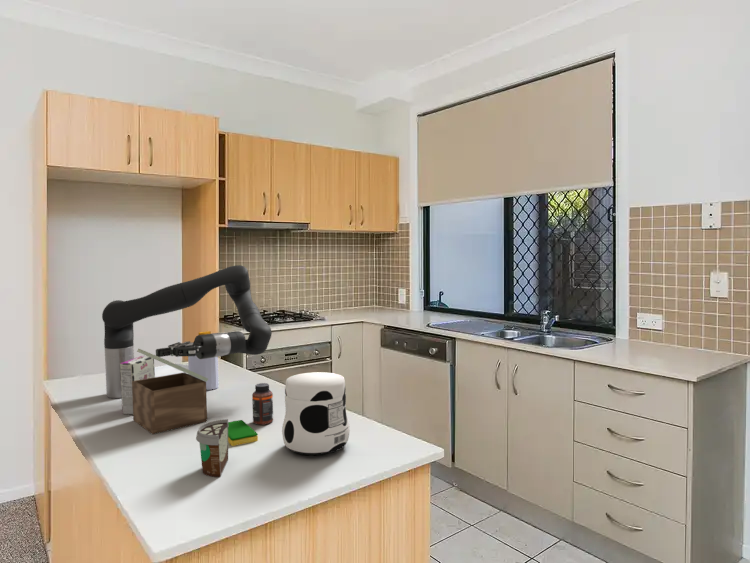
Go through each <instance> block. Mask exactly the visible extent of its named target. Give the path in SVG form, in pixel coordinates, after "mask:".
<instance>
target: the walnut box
mask: <svg viewBox="0 0 750 563" xmlns="http://www.w3.org/2000/svg"><path fill="white" fill-rule="evenodd" d="M132 396H133V415H132V416H133V420H132V421H134V422H135V423H136V424H137V425H139V426H140V427H141V428H143V429H145V430H146V431H147V432H148V433H150V434H151V433H152V434H151V435H155V433H156V434H159V432H160V433H164V432H168V431H167V430H169V431H172V430H171V429H173V430H176V429H175V428H177V429H180V427H181V428H185V426H186V427H189V425H190V426H194V425H198V424H201V423H207V422H208V405H207V401H208V399H207V390H206V382H205V381H203V380H201V379H198V378H196V377H194V376H191V375H189V374H187V373H185V372H184V373H178V374H172V375H166V376H160V377H154V378H148V379H143V380H137V381H132ZM206 421H207V422H206ZM193 424H194V425H193ZM163 431H164V432H163Z"/></svg>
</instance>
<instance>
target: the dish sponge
mask: <svg viewBox="0 0 750 563" xmlns="http://www.w3.org/2000/svg"><path fill="white" fill-rule="evenodd" d="M228 425H229V427H228V444H229V445H230V446H232V447H235V446H240V445H245V444H249V443H253V442H254V443H255V442H257V441H259V436H258V435H259V434H258V432H256V431H255V430H254V429H253V428H252V427H251V426H249V424H247V423H246V422H245V421H244V420H243V419H238V420H233V421H228Z"/></svg>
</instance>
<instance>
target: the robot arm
mask: <svg viewBox="0 0 750 563" xmlns="http://www.w3.org/2000/svg"><path fill="white" fill-rule="evenodd" d="M250 280H251V279H250V276H249V271H248V268H247V267H245V266H244V265H239V264H238V265H230V266H227V267H225V268H223V269H220V270H217V271H214V272H211V273H209V274H206V275H204V276H201V277H197V278H194V279H191V280H188V281H183V282H180V283H176V284H172V285H168V286H165V287H163V288H161V289H158V290H156V291H153V292H151V293H149V294H147V295H144V296H142V297H139V298H138V297H137V298H134V299H133V298H132V299H129V300H120V299H119V300H112V301H111V302H109V303H108V304H107V305H106V306H105V307H104V308H103V311H102V313H101V318H102V321H103V324H104V339H103V340H104V341H103V342H104V343H103V345H104V361H105V362H104V363H105V364H104V366H105V384H106V385H105V387H106V389H105V390H106V397H107V398H109V399H122V394H121V377H120V363H123V362H126V361H128V360H131V359H134V358H135V349H134V347H135V346H134V345H135V344H134V323H136V322H139V321H142V320H144V319H147V318H150V317H155V316H159V315H160V316H161V315H164V314H168V313H173V312H177V311H180V310H183V309H187V308H190V307H192V306H194V305H197V303H199V301H201V300H202V298H204V297H205V296H207V294H208V293H210V292H211V291H212V290H214V289H216V288H219V287H222V286H224V288H225V291H226V292H227V294H228V296H229V297H230V298H231V299H232V301H233V303H234V304H235V306H236V309H237V313H238V316H239V320H240V322H241V325H242V327H243V329H244V330H245V331H246V332H247V333H249V334H248V337H247V338H246V336H245V334H244V333H243V332H242V331H239V330H238V331H237V330H236V331H235V330H234V331H229V332H228V331H227V332H213V333H212V332H211V334H204V335H199V334H198V335H196V336H195V338H194V341H193V342H191V341H190V340H189V341H184V342H180V341H177V342H176V343H172V344H169V345H167V347H162V348H156V349H155V355H156V356H158V357H160V358H163V357H168V356H170V357H177V358H179V357H188V356H197V358H199V359H206V358H213V357H218V358H219V357H223V356H227V355H233V354H244V355H245V354H246V355H254V356H257V355H261V354H263V353H265V352H266V350H267V349H268V346H269V343H270V341H271V338H272V328H271V326H270V324H268V323H267V322H266V321H265V320H264V319H263V316H262V314H261V313H260V312H261V311H260V309H259V308H258V306H257V305H256V303H255V302H254V301H253V298H252V292H251V281H250Z"/></svg>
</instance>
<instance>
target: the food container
mask: <svg viewBox="0 0 750 563" xmlns="http://www.w3.org/2000/svg"><path fill="white" fill-rule="evenodd" d="M228 422H229V419H228V418H226V419H218V420H217V419H216V420H213V421H209V422H208V421H207V422H205V423H204V424H201V425H200V426H199V427H198V430H197V432H196V437H195V440H196V442H198V443H199V452H200V460H201V468H202V470H201V471H202V473H203V475H206V476H208V477H210V478H211V477H214V478H221V477H222V475H223V473H224V471H225V469H226V466H227V464H228V461H229V442H228V427H229V425H228Z"/></svg>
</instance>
